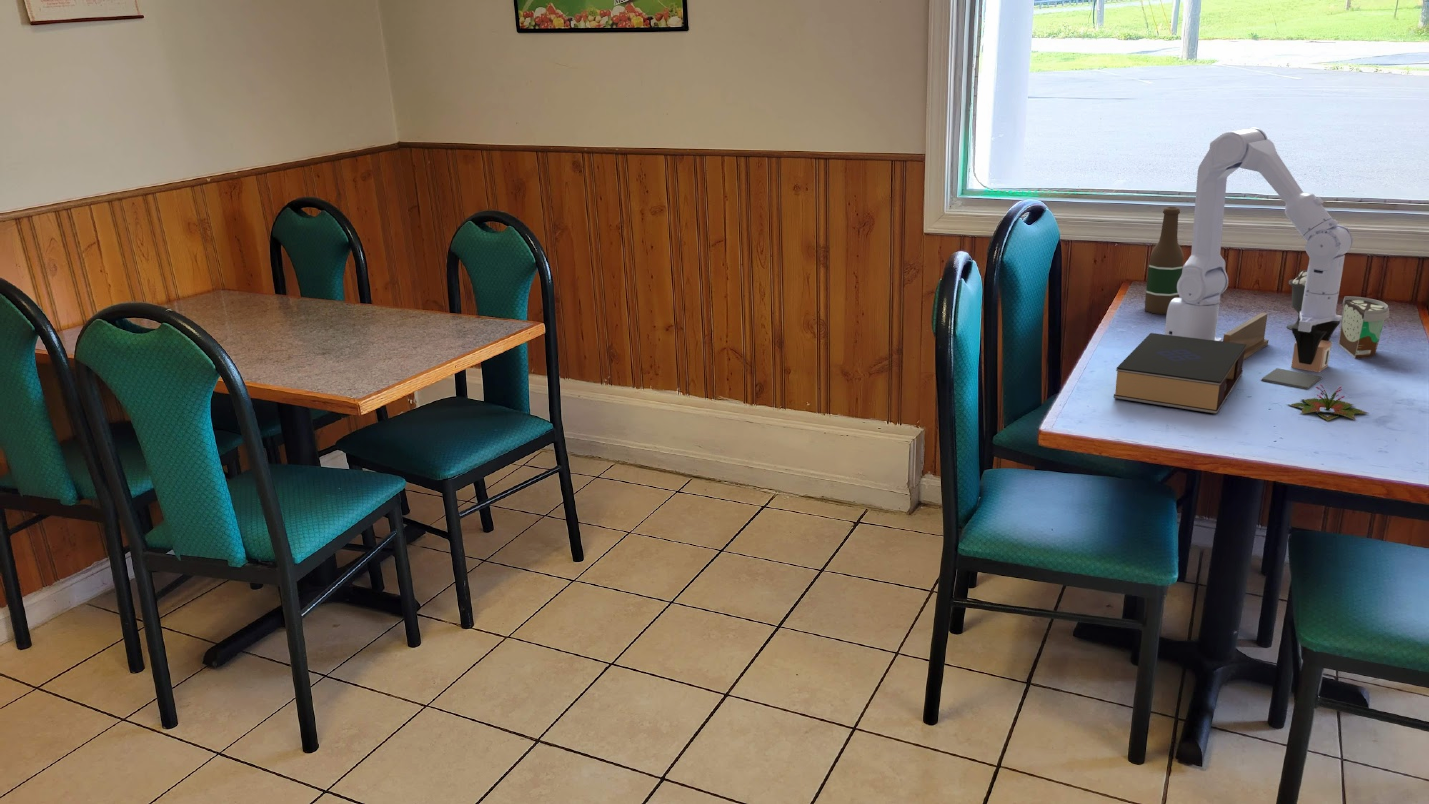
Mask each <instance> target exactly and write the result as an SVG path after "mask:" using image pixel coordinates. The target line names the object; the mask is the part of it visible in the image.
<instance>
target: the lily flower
mask: <svg viewBox="0 0 1429 804" xmlns="http://www.w3.org/2000/svg"><path fill="white" fill-rule="evenodd" d="M1320 387H1321V388H1323V389H1321V388H1320ZM1320 387H1318V386H1316V387H1315V389H1317V390H1320V391H1321V392H1320V394H1321V395H1320V394H1316V396H1317V397H1318V398H1316V397H1314V398H1306V399H1302V398H1300V399H1301V401H1303V402H1294V403H1291V404H1289V407H1294V408H1299V409H1301V413H1300V415H1306V414H1308V413H1309V414H1311V413H1314V412H1315V414H1316V415H1317V416H1320V417H1321V418H1322V419H1324V420H1326V421H1327V422H1328V421H1330V420H1333V419H1335V418H1339V417H1340V415H1341V416H1344V417H1346V418H1349V419H1352V420H1354V421H1357V419H1356V417H1355V415H1356V414H1368V412H1367V411H1365V410H1362V409H1359V408H1355V407H1352V406H1353V405H1355V404H1353V403H1350V402H1346V401H1344V400H1341V399H1344V398H1346V397H1345V395H1343V396H1341V397H1340V398H1339V394H1337V393H1339V392H1341V391H1342V386H1340V387H1338V388H1337V389H1336V390H1335V391H1334V393H1332V394H1331V392H1329V394H1328V393H1327V391H1326V390H1325V388H1324V386H1323V385H1322V384H1320ZM1328 395H1331V396H1330V397H1329V396H1328ZM1322 396H1323V397H1322ZM1337 397H1338V398H1337ZM1335 398H1337V399H1336V400H1335ZM1321 408H1324V409H1325V411H1327V412H1328V413H1330V414H1331V415H1326V414H1324V413H1323V411H1322V410H1321ZM1331 409H1332V410H1333V412H1332V411H1331ZM1330 411H1331V412H1330Z"/></svg>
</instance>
